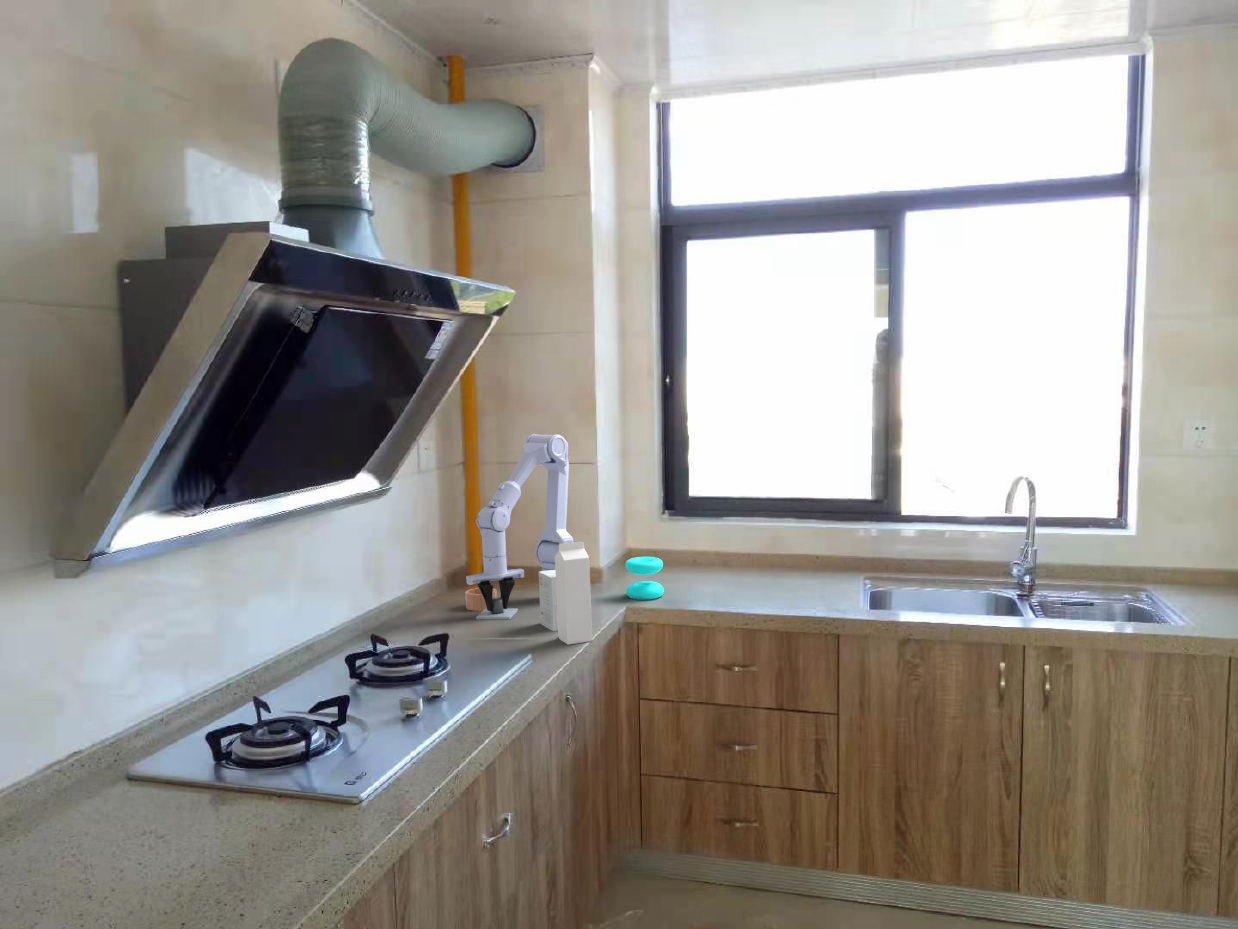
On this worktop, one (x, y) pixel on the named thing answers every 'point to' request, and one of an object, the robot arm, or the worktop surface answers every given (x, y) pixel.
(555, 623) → the small box
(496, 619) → the mat
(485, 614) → the lid
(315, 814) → the worktop surface
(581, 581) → the milk
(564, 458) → the robot arm
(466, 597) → the bowl
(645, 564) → the donuts
